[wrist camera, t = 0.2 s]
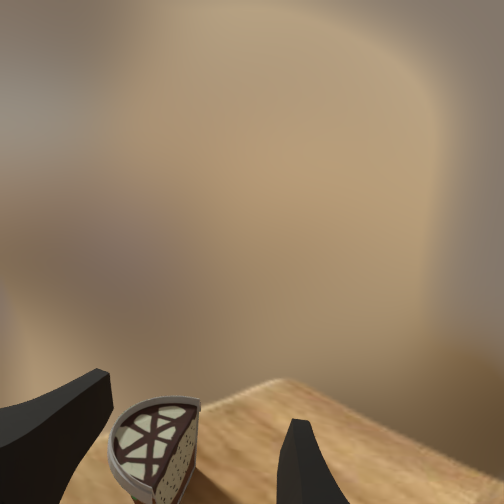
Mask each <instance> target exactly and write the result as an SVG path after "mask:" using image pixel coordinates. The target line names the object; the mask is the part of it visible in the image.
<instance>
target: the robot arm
mask: <svg viewBox="0 0 504 504" xmlns="http://www.w3.org/2000/svg"><path fill="white" fill-rule="evenodd" d="M113 409H114V407H113V399H112V391H111V383H110V374H109V373H108V372H106V371H103V370H100V369H97V368H96V369H94V370H92V371H90V372H88V373H86V374H85V375H83V376H81V377H79V378H77V379H75V380H73V381H71V382H69V383H67V384H65V385H64V386H61V387H59V388H58V389H55V390H53V391H51V392H49V393H46V394H44V395H42V396H40V397H37V398H35V399H33V400H30V401H27V402H24V403H21V404H17V405H13V406H9V407H5V408H0V504H59V503H60V500H61V498H62V496H63V494H64V491H65V489H66V487H67V485H68V483H69V481H70V479H71V477H72V475H73V473H74V471H75V469H76V468H77V466H78V464H79V463H80V461H81V460H82V459H83V457H84V456H85V454H86V453H87V451H88V450H89V449H90V447H91V446H92V444H93V443H94V442H95V440H96V439H97V437H98V436H99V434H100V433H101V431H102V430H103V428H104V427H105V425H106V423H107V421H108V419H109V417H110V415H111V413H112V411H113ZM277 504H350V503H349V502H348V500H347V499H346V498H345V496H344V495H343V493H342V492H341V490H340V488H339V487H338V485H337V483H336V482H335V480H334V478H333V476H332V474H331V472H330V471H329V469H328V467H327V464H326V462H325V460H324V458H323V456H322V454H321V451H320V449H319V446H318V444H317V441H316V439H315V436H314V433H313V430H312V427H311V424H310V422H309V421H307V420H300V419H292V421H291V423H290V426H289V429H288V432H287V434H286V437H285V440H284V442H283V445H282V448H281V450H280V456H279V463H278V471H277Z"/></svg>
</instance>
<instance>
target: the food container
mask: <svg viewBox="0 0 504 504" xmlns="http://www.w3.org/2000/svg"><path fill="white" fill-rule="evenodd" d="M199 412H201V403H200V399H198V398H193V397H187V396H162V397H156V398H151V399H147V400H144V401H142V402H139V403H137V404H135V405H133V406H131V407H130V408H128V409H127V410H126V411H124V412H123V413H122V414H121V415H120V416H119V417H118V419H117V420H116V422H115V423H114V425H113V427H112V430H111V432H110V435H109V440H108V451H107V455H108V463H109V466H110V470H111V472H112V474H113V475H114V477H115V479H116V480H117V482H118V483H119V484H120V485H121V487H122V488H124V489H125V490H126V491H127V492H128V493H129V494H130V495H131V497H132V499H133V501H134V503H135V504H179V503H180V501H181V498H182V496H183V494H184V492H185V490H186V487H187V485H188V483H189V481H190V478H191V476H192V474H193V472H194V469H195V467H196V451H197V435H198V420H199Z"/></svg>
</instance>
